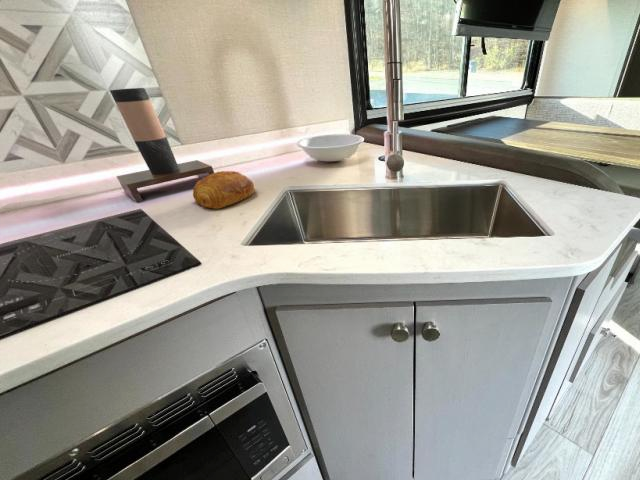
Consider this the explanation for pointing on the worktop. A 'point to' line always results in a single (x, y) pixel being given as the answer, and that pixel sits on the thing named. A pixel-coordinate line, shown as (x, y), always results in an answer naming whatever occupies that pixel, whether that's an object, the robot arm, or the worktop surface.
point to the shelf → (161, 177)
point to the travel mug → (145, 129)
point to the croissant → (222, 189)
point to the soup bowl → (331, 146)
